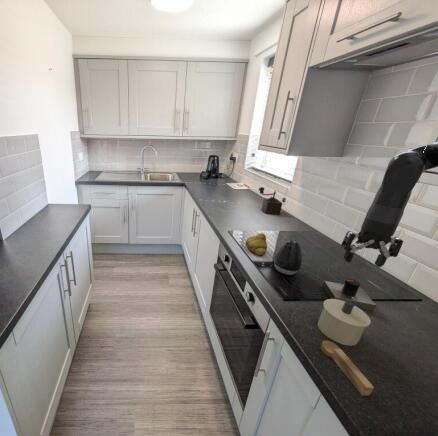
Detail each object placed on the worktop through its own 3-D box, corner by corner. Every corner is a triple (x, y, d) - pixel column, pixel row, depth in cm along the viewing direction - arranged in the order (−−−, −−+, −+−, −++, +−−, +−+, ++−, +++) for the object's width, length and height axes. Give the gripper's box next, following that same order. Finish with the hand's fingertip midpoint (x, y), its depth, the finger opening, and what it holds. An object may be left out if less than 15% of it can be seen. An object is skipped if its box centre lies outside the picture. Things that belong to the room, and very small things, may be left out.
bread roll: (268, 258, 111) (272, 243, 108) (247, 255, 113) (250, 240, 110) (262, 245, 123) (265, 232, 120) (243, 243, 125) (246, 230, 122)
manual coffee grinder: (274, 210, 179) (280, 187, 173) (279, 215, 169) (286, 191, 163) (253, 208, 181) (258, 186, 175) (257, 213, 171) (263, 189, 165)
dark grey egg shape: (267, 270, 101) (275, 239, 96) (277, 262, 108) (285, 233, 102) (292, 281, 94) (303, 249, 89) (301, 272, 101) (311, 241, 95)
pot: (348, 323, 75) (356, 305, 72) (365, 350, 65) (376, 330, 63) (312, 315, 77) (319, 297, 74) (324, 340, 68) (332, 321, 65)
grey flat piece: (357, 293, 89) (360, 286, 87) (373, 312, 80) (376, 304, 78) (322, 286, 92) (324, 280, 91) (332, 303, 83) (335, 296, 82)
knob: (352, 289, 86) (357, 279, 84) (357, 296, 82) (363, 285, 80) (339, 287, 87) (344, 276, 85) (344, 294, 83) (349, 283, 81)
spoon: (374, 396, 54) (380, 387, 53) (356, 395, 54) (361, 387, 53) (331, 344, 67) (335, 337, 66) (316, 344, 67) (319, 336, 66)
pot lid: (357, 306, 72) (362, 295, 71) (378, 333, 62) (384, 322, 61) (317, 298, 75) (320, 288, 74) (331, 323, 65) (336, 312, 64)
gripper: (361, 219, 69) (343, 265, 75) (420, 226, 66) (396, 273, 72) (348, 211, 76) (332, 254, 82) (401, 217, 72) (380, 261, 78)
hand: (362, 263), depth 77 cm, fingers open, 8 cm apart
